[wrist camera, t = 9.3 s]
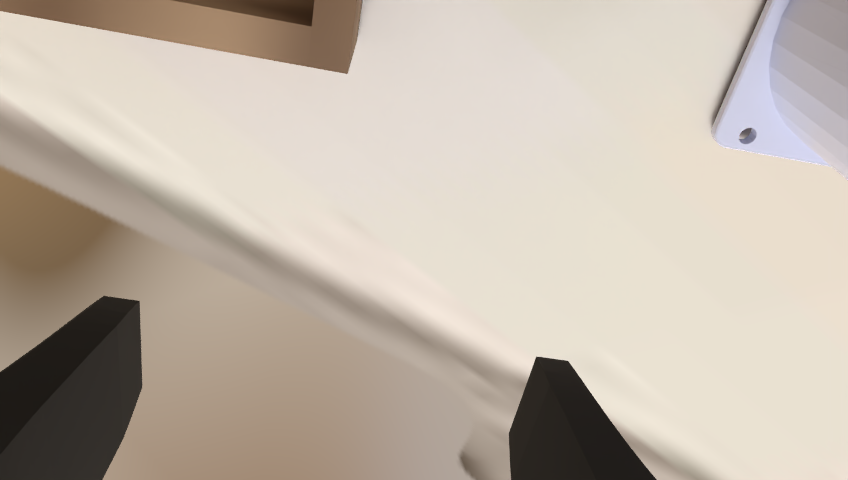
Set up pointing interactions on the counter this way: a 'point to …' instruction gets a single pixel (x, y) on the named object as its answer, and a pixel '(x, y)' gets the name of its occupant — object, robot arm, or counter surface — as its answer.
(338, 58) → the parts box
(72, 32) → the counter surface
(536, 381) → the robot arm
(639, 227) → the counter surface
